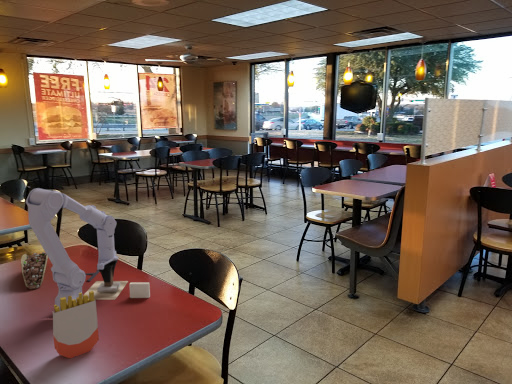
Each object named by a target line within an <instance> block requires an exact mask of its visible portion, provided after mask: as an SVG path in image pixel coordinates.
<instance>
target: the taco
mask: <svg viewBox="0 0 512 384" xmlns="http://www.w3.org/2000/svg"><path fill="white" fill-rule="evenodd" d="M48 259H49V257H48V256H47V254H46V252H45V251H43V252H41V253H38V252H34V253H33V254H30V255H28V254H27V253H24V254H23V255H21V258H20V267H21V272H22V277H23V280H24V284H25V287H26V288H28V289H30V290H36V289H39V288H40V287H41V286H42V284H43V281H44V277H45V272H46V268H47V263H48Z"/></svg>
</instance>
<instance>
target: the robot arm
mask: <svg viewBox="0 0 512 384" xmlns="http://www.w3.org/2000/svg"><path fill="white" fill-rule="evenodd" d="M25 204H26V205H27V210H28V213H27V214H28V224H29V227H30V228H31V230H32V231H33V233H34V235H35V236H36V238H37V240H38V242H39V243H40V245H41V247H42V248H43V252H45V253H46V254H47V256H48V259H49V261H50V263H51V264H52V266H51V267H50V270H51V272H52V279H53V281H54V282H55V283H56V284H57V287H58V293H57V294H56V295H57V296H56V297H55V298H54V305H57V306H59V308H60V298H63V297H65V298H66V302H67V301H68V296H72V300H73V299H75V300H76V303H77V299H76V298H77V297H79V293H82V299H83V295H84V294H83V285H84V283H85V281H86V279H87V278H86V276H87V275H85V273H86V272H85V271H84V270H82V269H81V268H80V267H79V266H78V264H76V262H74V261H73V260H72V259H71V257H69V254H68V252H67V250H66V249H65V247H64V245H63V243H62V241H61V240H60V238H59V236H58V234H57V232H56V230H55V227H54V226H53V225H52V222H51V221H52V220H53V218H55V216H56V215H57V214H58V213H59V211H60V210H61V209H67V210H69V211H70V212H73V213H75V214H77V215H78V216H79V219H80V220H81V221H83V222H85V223H87V224H89V225H91V226H92V227H93V228H94V229H96V236H97V247H98V249H97V250H98V259H97V260H98V261H97V264H96V270H99V271H100V272H99V273H100V275H101V278H102V281H104V282H110V280H111V271H112V272H113V277H114V276H115V275H114V274H115V269H116V266H117V264H118V259H119V256H118V255H117V250H116V249H115V235H114V234H115V232H116V231H115V229H116V227H117V221H116V220H115V217H114V216H113V215H109V214H108V215H107V214H106V211H103V210H100V209H97V206H95V205H93V204H91V205H90V204H89V205H83V204H81V203H80V202H78V201H77V200H75V199H74V198H72V197H70V196H69V195H67V194H65V193H63V192H60V191H58V190H50V189H44V188H42V187H41V188H40V187H37V188H33V189H32V190H30V191H29V193H28V196H27V198H26V199H25ZM67 304H68V302H67ZM60 311H61V309H60Z"/></svg>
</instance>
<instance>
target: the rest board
mask: <svg viewBox="0 0 512 384" xmlns="http://www.w3.org/2000/svg"><path fill="white" fill-rule="evenodd" d="M102 282H104V280H95V282H94V283H93V284H92V285H91V286H90V287H89V289H87V291H86V292H84V294H83V295H88V299H89V292H90V291H93V292H94V299H95V300H97V301H98V300H103V301H104V300H110V301H111V300H116V299H117V298H118V296H119V295H120V294H121V293H122V291H123V290H124V288H125V287H126V285H127V284H128V283H129V281H128V280H113V282H120V285H121V286H120V287H119V289H118V290H117V291H116V292H97V288H98V287H99V285H100V284H101V283H102Z"/></svg>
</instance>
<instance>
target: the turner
mask: <svg viewBox="0 0 512 384" xmlns="http://www.w3.org/2000/svg"><path fill="white" fill-rule="evenodd" d="M113 281H114V276H113V272H112V271H111V280H110V282H102V283H101V284H100V285H99V287H98V288H97V292H116V291H117V290H118V289H119V287H120V286H121V285H120V282H113Z"/></svg>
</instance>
